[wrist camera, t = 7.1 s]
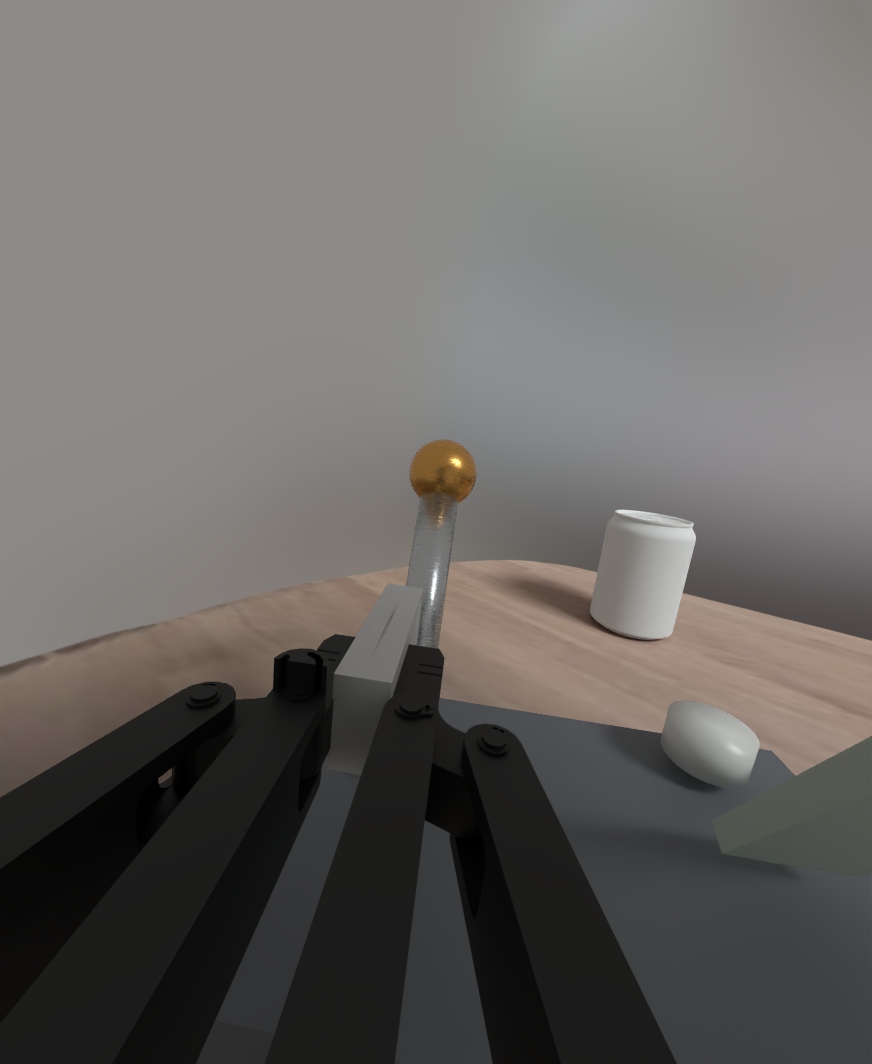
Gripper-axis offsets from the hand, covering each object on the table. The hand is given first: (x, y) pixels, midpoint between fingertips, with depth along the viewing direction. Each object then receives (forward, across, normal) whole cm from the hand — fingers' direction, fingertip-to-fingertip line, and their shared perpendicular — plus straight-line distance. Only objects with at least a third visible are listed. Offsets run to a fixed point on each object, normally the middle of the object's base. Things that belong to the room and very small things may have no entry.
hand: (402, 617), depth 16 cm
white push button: (+3, +15, -7) cm, 17 cm away
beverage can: (+27, +21, -10) cm, 36 cm away
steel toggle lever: (-1, +1, -7) cm, 7 cm away
